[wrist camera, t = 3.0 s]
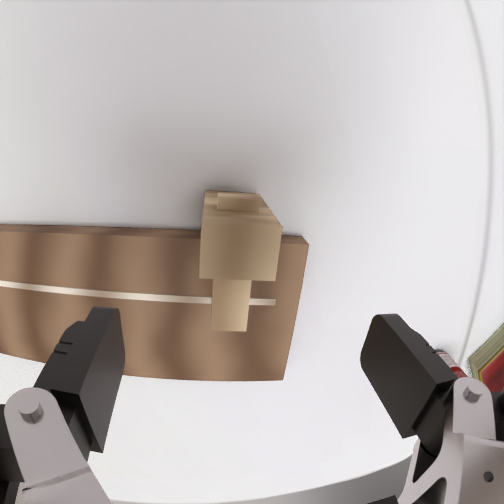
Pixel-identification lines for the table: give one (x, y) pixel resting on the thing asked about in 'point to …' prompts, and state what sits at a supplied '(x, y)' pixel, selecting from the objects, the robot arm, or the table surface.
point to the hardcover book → (490, 362)
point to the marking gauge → (236, 253)
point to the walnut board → (143, 300)
